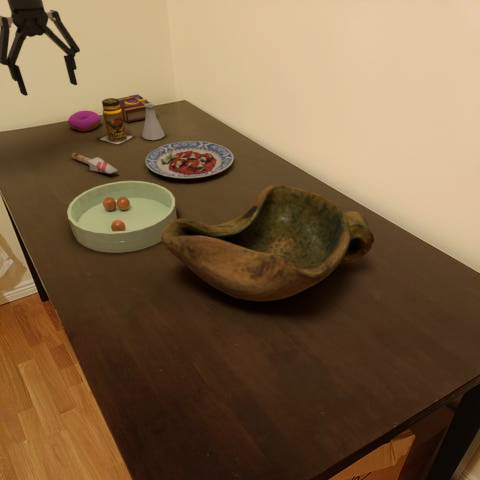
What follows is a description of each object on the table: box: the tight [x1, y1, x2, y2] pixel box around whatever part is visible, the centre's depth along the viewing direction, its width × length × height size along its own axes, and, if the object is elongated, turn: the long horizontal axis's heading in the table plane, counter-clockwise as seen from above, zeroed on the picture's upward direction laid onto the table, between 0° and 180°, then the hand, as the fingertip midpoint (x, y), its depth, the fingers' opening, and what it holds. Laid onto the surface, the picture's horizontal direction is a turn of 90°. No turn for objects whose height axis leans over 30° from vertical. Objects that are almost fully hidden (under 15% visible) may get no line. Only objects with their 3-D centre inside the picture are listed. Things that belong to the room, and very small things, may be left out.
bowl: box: [161, 183, 375, 303], centre depth 83 cm, size 39×29×15 cm
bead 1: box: [103, 197, 117, 211], centre depth 105 cm, size 3×3×3 cm
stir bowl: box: [66, 180, 178, 254], centre depth 102 cm, size 25×25×5 cm
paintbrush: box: [71, 152, 119, 174], centre depth 125 cm, size 4×3×20 cm
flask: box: [141, 102, 166, 141], centre depth 140 cm, size 7×7×10 cm
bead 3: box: [111, 220, 126, 232], centre depth 98 cm, size 3×3×3 cm
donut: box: [67, 110, 102, 133], centre depth 148 cm, size 10×10×5 cm
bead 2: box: [117, 197, 130, 210], centre depth 106 cm, size 3×3×3 cm
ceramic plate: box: [145, 140, 234, 180], centre depth 126 cm, size 26×26×3 cm
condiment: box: [99, 97, 133, 145], centre depth 138 cm, size 7×8×12 cm
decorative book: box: [117, 93, 152, 123], centre depth 157 cm, size 11×16×5 cm
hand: (49, 89), depth 113 cm, fingers open, 13 cm apart
